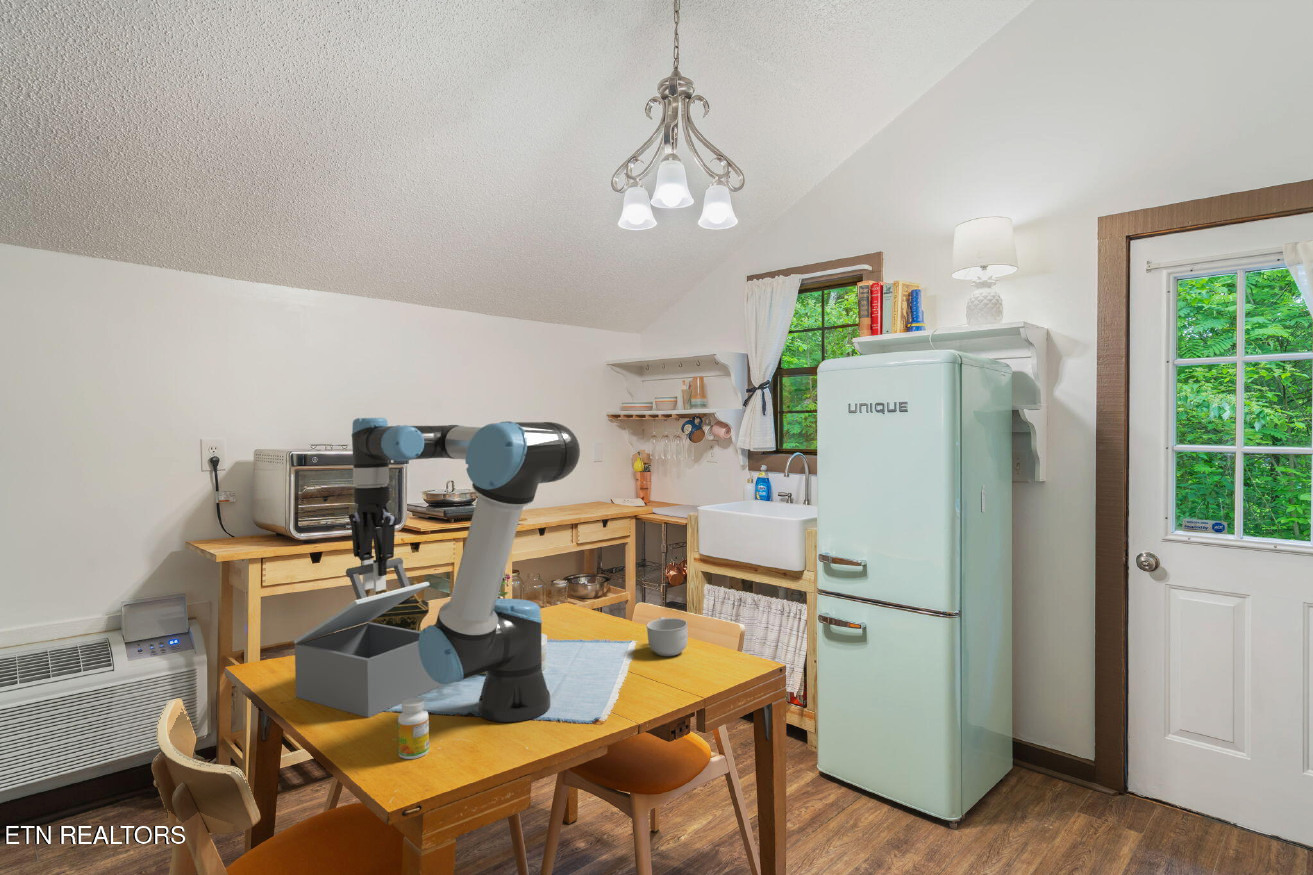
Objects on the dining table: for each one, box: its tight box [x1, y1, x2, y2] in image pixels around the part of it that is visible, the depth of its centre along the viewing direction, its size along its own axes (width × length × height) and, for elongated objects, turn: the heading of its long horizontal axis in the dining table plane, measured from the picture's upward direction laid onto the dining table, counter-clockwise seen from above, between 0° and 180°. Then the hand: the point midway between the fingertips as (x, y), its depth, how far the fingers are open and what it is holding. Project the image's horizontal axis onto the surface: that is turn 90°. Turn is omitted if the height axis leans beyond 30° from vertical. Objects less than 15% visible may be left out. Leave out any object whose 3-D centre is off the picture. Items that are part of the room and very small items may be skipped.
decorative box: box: [351, 580, 430, 632], centre depth 198 cm, size 20×10×20 cm, turn 107°
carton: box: [294, 622, 441, 719], centre depth 163 cm, size 24×20×12 cm
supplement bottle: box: [397, 696, 430, 760], centre depth 132 cm, size 5×5×10 cm
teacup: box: [646, 616, 689, 657], centre depth 190 cm, size 14×11×8 cm
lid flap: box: [293, 557, 430, 645], centre depth 165 cm, size 24×20×9 cm
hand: (374, 589), depth 162 cm, fingers open, 3 cm apart
